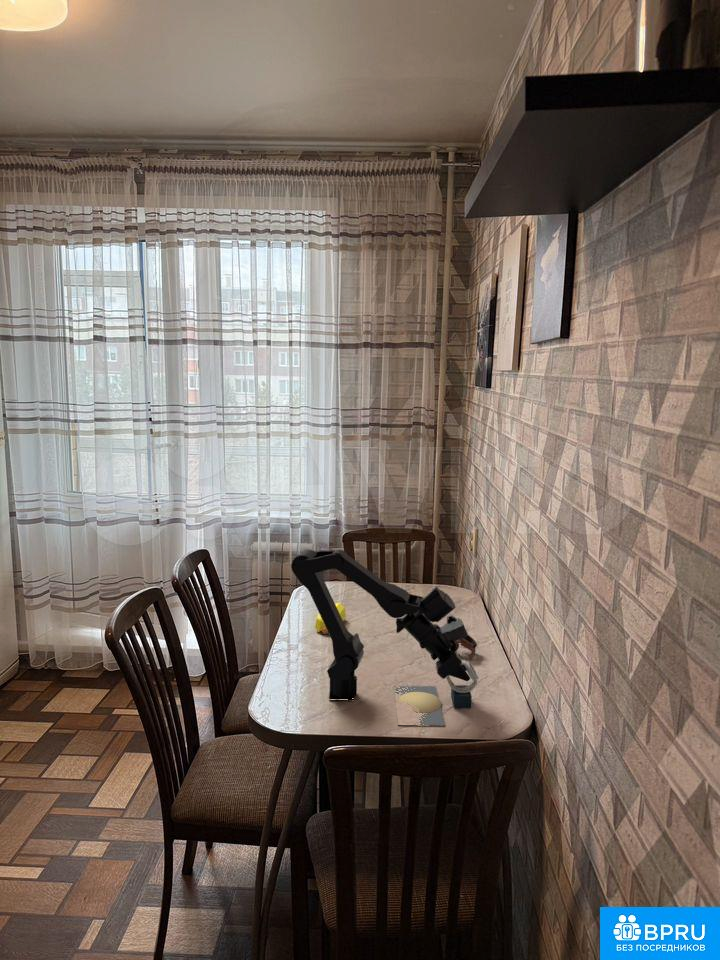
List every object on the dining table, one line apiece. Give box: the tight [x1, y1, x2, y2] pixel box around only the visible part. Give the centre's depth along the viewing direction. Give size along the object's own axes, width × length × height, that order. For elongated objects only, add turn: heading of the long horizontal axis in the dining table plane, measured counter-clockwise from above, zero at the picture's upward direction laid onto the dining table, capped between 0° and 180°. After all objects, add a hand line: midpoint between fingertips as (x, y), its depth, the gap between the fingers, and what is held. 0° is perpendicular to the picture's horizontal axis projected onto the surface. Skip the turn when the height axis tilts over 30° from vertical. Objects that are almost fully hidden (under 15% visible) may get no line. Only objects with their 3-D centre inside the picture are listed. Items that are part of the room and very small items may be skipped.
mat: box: [393, 685, 446, 727], centre depth 163 cm, size 12×20×1 cm, turn 0°
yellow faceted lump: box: [314, 602, 347, 634], centre depth 216 cm, size 18×7×8 cm
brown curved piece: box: [455, 634, 478, 660], centre depth 192 cm, size 12×10×8 cm
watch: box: [445, 658, 479, 709], centre depth 163 cm, size 6×8×11 cm
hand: (467, 675), depth 163 cm, fingers closed on watch, 5 cm apart
